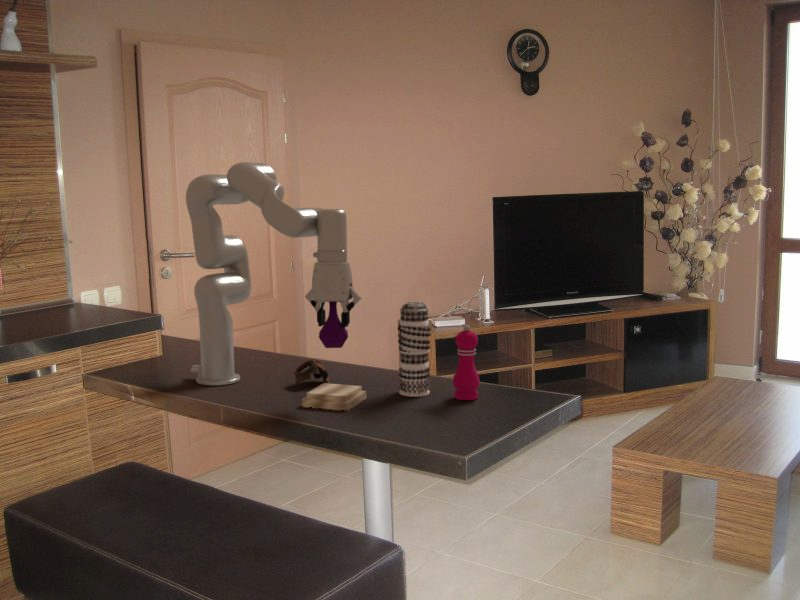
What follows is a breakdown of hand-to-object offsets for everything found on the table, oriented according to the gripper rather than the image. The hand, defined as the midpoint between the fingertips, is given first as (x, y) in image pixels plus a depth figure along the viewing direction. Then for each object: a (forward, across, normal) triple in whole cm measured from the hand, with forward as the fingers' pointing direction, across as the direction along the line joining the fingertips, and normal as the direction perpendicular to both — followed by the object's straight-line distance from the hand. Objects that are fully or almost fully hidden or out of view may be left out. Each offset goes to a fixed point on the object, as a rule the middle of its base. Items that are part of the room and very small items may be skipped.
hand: (333, 325), depth 203 cm
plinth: (+21, 0, 0) cm, 21 cm away
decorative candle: (+21, +17, +16) cm, 31 cm away
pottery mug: (+21, -14, +17) cm, 30 cm away
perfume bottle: (+6, 0, 0) cm, 6 cm away
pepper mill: (+21, +32, +15) cm, 41 cm away
